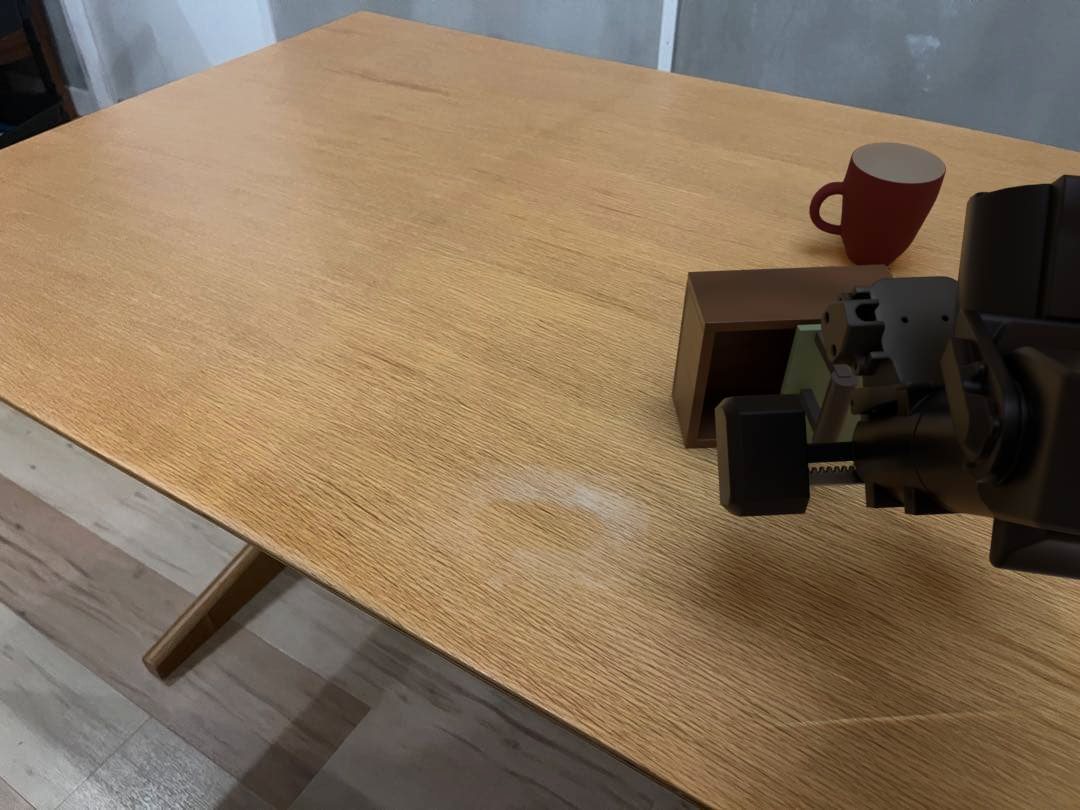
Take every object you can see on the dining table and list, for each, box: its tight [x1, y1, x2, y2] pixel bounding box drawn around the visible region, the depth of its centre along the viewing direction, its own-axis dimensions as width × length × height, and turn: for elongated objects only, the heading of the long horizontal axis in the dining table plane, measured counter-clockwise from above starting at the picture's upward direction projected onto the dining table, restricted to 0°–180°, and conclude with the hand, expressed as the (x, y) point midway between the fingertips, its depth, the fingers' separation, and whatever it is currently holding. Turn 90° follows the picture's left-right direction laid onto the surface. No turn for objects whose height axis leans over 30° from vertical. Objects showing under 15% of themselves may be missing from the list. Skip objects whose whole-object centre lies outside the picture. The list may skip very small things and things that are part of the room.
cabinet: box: [671, 264, 894, 449], centre depth 59 cm, size 6×14×12 cm, turn 93°
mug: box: [808, 142, 947, 268], centre depth 76 cm, size 11×8×10 cm
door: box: [780, 324, 863, 443], centre depth 55 cm, size 6×7×11 cm
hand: (835, 448), depth 51 cm, fingers open, 9 cm apart
